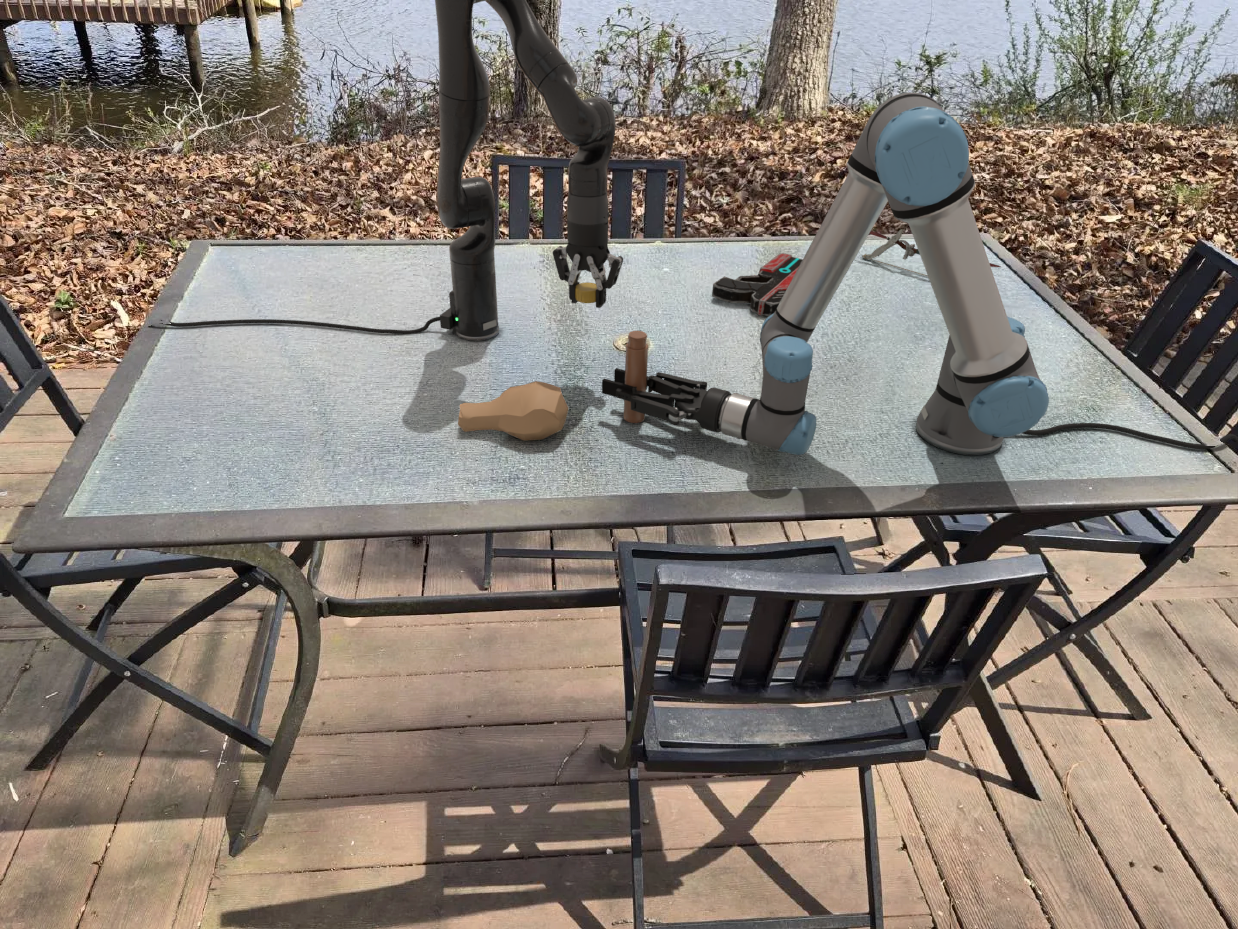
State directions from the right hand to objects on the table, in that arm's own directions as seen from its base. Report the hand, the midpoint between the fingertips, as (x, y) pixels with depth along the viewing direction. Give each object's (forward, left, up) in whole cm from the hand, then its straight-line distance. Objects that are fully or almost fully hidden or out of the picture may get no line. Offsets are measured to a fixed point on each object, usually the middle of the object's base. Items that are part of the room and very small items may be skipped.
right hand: (609, 380), depth 162 cm
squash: (+17, +9, -6) cm, 20 cm away
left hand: (+5, -14, +9) cm, 17 cm away
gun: (-36, -62, -6) cm, 72 cm away
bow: (-76, -77, -6) cm, 109 cm away
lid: (+5, -14, +12) cm, 19 cm away
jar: (-5, +2, -6) cm, 8 cm away
